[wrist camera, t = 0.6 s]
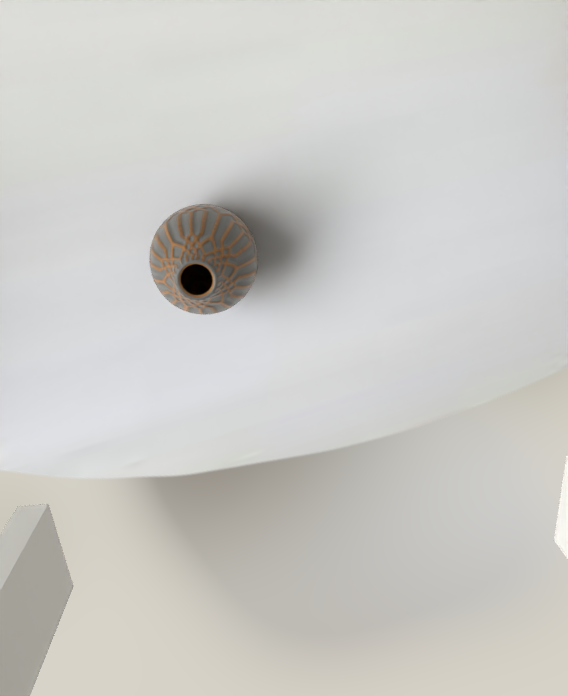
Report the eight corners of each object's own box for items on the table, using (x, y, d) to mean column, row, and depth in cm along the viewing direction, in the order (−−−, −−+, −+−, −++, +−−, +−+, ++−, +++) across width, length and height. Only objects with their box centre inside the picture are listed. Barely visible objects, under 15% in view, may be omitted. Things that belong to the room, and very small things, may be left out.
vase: (271, 218, 38) (274, 242, 30) (240, 307, 40) (236, 352, 32) (175, 184, 36) (151, 199, 28) (149, 277, 39) (120, 316, 31)
